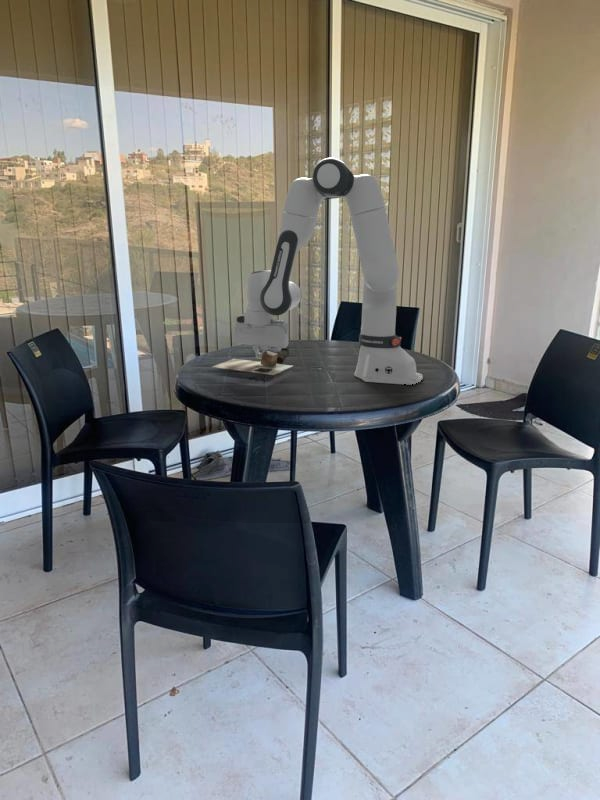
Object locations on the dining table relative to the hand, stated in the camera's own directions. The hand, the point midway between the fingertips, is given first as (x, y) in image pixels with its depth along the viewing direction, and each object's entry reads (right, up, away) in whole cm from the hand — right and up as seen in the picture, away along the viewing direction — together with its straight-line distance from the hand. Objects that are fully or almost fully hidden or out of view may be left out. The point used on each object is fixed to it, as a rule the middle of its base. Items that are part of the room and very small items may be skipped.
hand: (260, 358), depth 200 cm
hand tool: (+7, -1, +13) cm, 15 cm away
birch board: (-2, -4, -2) cm, 6 cm away
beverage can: (+2, +4, +29) cm, 29 cm away
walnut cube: (+3, -2, -1) cm, 4 cm away
